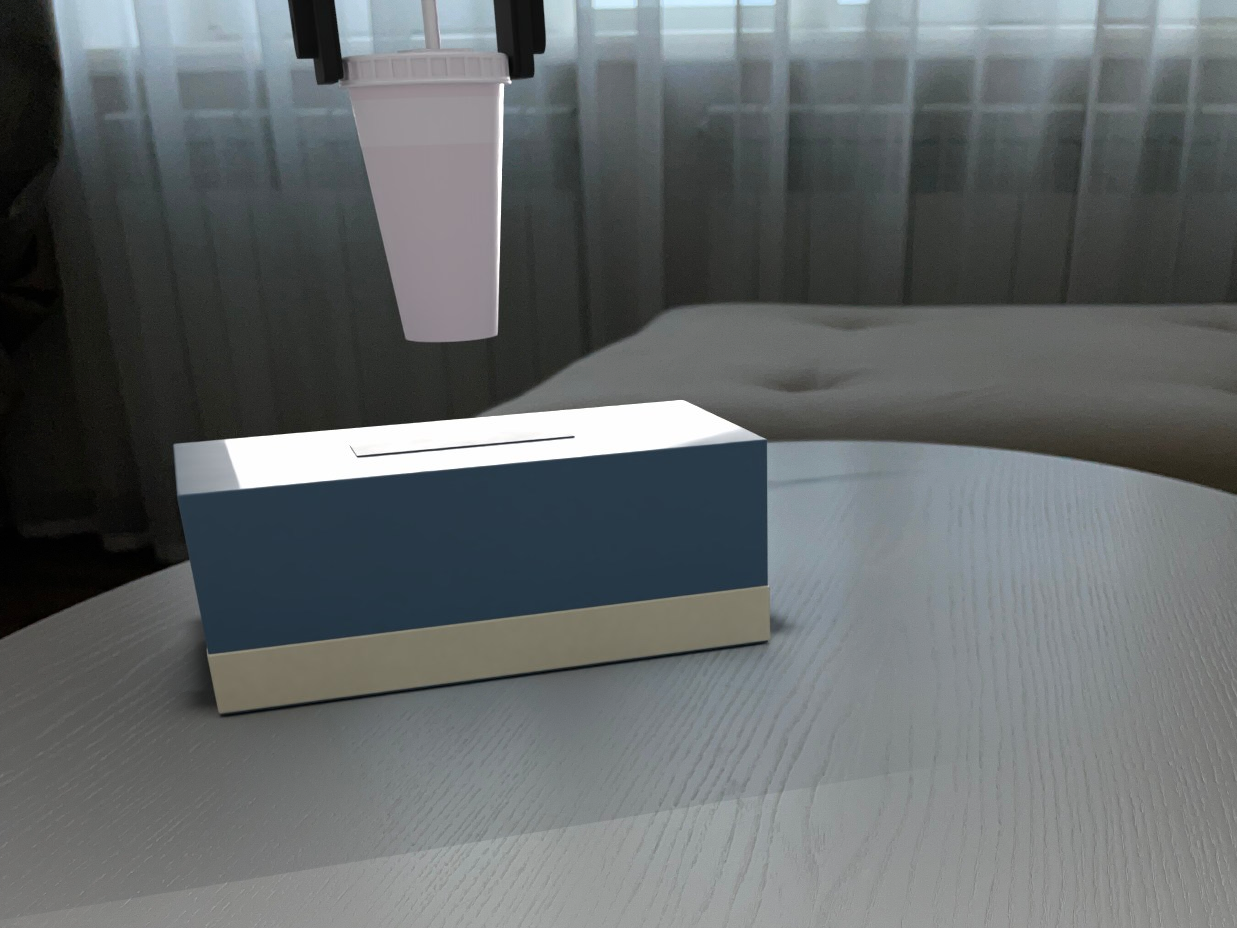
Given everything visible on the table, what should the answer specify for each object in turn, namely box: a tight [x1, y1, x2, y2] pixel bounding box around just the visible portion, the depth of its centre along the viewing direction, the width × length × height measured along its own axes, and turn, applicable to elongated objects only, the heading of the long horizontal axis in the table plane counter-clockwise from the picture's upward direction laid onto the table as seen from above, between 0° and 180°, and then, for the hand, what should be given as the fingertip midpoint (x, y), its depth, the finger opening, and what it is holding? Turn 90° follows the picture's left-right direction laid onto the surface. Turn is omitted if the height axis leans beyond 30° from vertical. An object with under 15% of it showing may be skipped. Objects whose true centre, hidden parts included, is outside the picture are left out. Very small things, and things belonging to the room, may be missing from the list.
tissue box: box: [172, 399, 771, 716], centre depth 62 cm, size 23×11×8 cm, turn 108°
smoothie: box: [338, 0, 512, 343], centre depth 55 cm, size 6×6×14 cm
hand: (424, 75), depth 54 cm, fingers closed on smoothie, 6 cm apart
